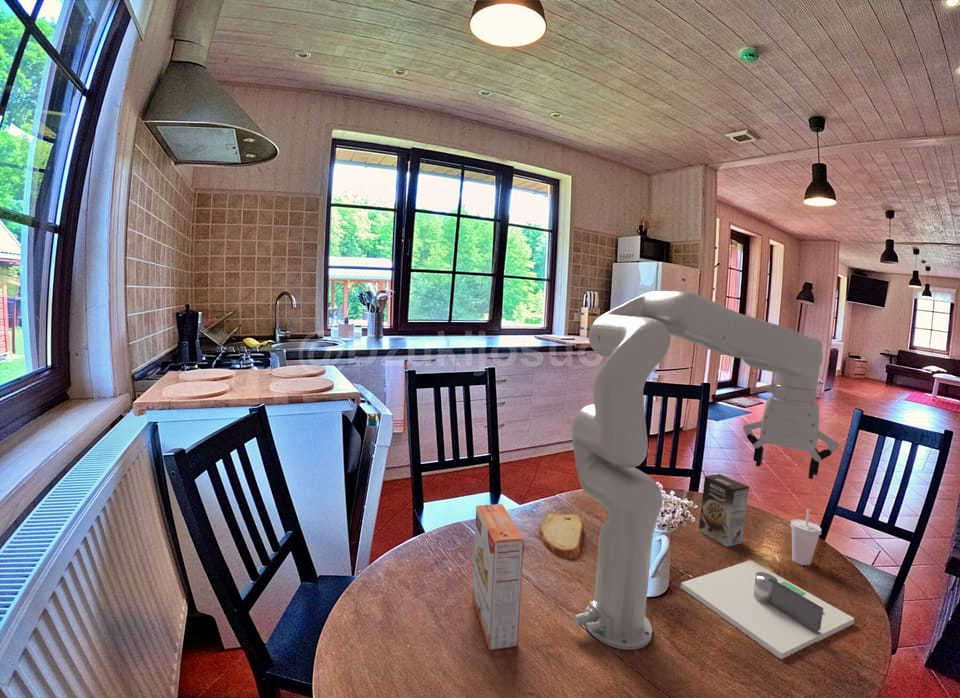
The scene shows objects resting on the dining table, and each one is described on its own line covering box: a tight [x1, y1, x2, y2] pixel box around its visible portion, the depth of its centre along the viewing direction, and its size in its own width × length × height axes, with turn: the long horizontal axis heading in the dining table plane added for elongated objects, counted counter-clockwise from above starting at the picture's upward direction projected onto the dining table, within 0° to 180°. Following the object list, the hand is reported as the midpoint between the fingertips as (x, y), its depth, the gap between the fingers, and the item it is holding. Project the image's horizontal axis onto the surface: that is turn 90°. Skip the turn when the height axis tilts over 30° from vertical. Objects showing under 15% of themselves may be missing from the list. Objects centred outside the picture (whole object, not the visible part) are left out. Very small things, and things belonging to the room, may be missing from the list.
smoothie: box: [789, 508, 822, 567], centre depth 115 cm, size 6×6×14 cm
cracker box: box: [472, 503, 525, 651], centre depth 87 cm, size 14×6×21 cm, turn 13°
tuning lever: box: [753, 572, 823, 632], centre depth 94 cm, size 12×4×4 cm, turn 26°
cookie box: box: [698, 473, 750, 548], centre depth 125 cm, size 9×6×16 cm
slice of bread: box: [539, 511, 585, 560], centre depth 122 cm, size 18×18×4 cm
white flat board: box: [680, 560, 856, 660], centre depth 98 cm, size 24×22×1 cm
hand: (784, 470), depth 101 cm, fingers open, 9 cm apart
